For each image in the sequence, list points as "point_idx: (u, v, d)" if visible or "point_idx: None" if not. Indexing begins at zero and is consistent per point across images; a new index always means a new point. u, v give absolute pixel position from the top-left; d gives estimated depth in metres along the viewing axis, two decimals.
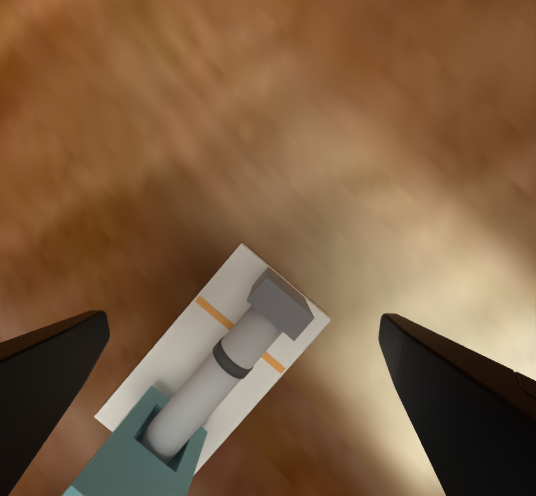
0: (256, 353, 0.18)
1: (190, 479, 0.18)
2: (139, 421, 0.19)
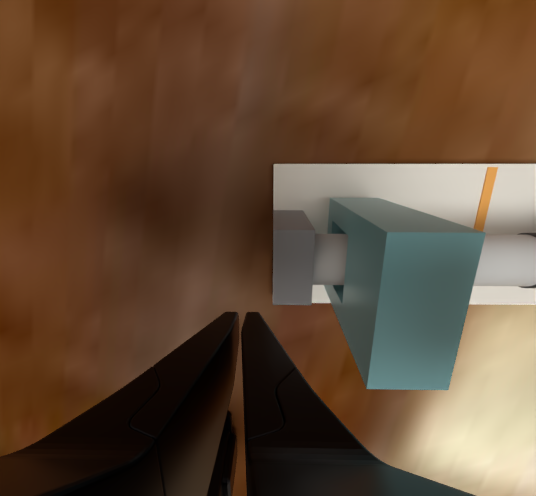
0: None
1: None
2: None
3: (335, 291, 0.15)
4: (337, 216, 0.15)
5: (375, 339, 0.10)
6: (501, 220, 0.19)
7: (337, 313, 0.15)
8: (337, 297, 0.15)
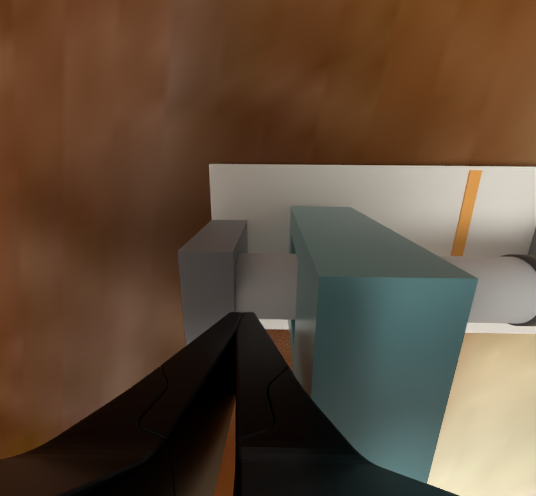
0: None
1: None
2: None
3: (291, 326, 0.12)
4: (293, 231, 0.12)
5: None
6: (486, 234, 0.15)
7: (292, 355, 0.12)
8: (292, 335, 0.12)
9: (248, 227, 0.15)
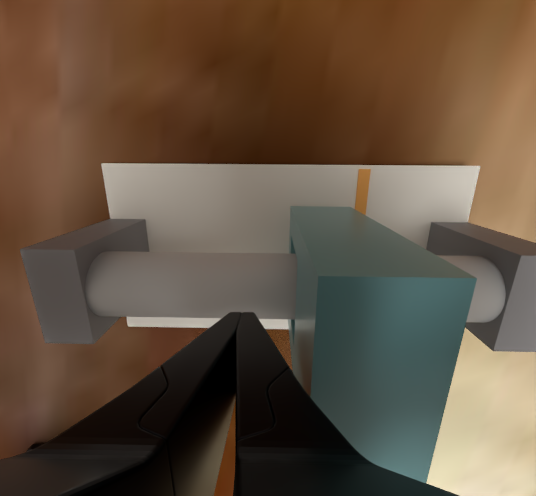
0: None
1: None
2: None
3: (291, 325, 0.12)
4: (293, 231, 0.12)
5: None
6: None
7: (291, 355, 0.12)
8: (292, 335, 0.12)
9: (147, 226, 0.16)
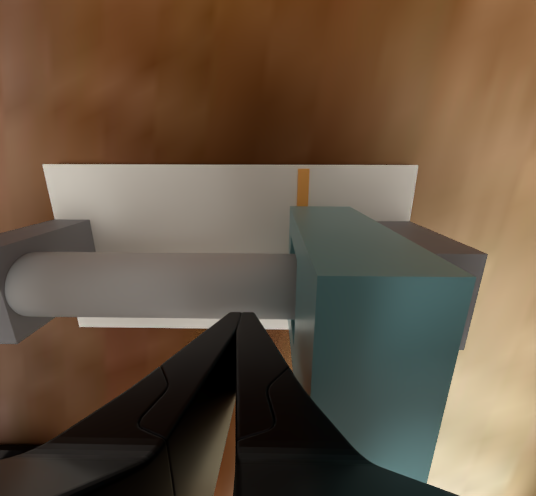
0: None
1: None
2: None
3: (291, 326, 0.12)
4: (292, 231, 0.12)
5: None
6: None
7: (292, 355, 0.12)
8: (292, 335, 0.12)
9: (91, 226, 0.16)
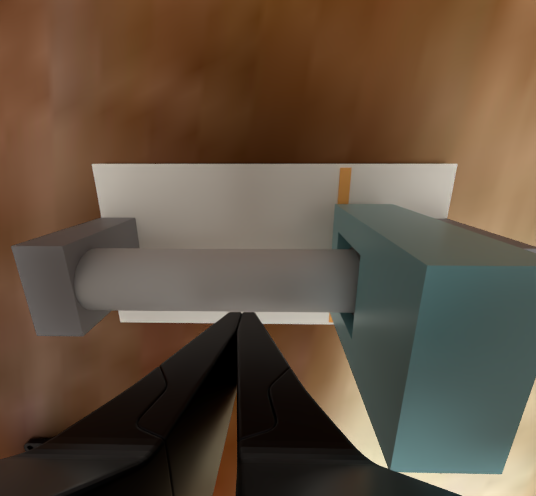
0: None
1: None
2: None
3: (342, 319, 0.13)
4: (345, 228, 0.12)
5: (403, 410, 0.07)
6: None
7: (345, 347, 0.12)
8: (345, 327, 0.12)
9: (137, 224, 0.16)
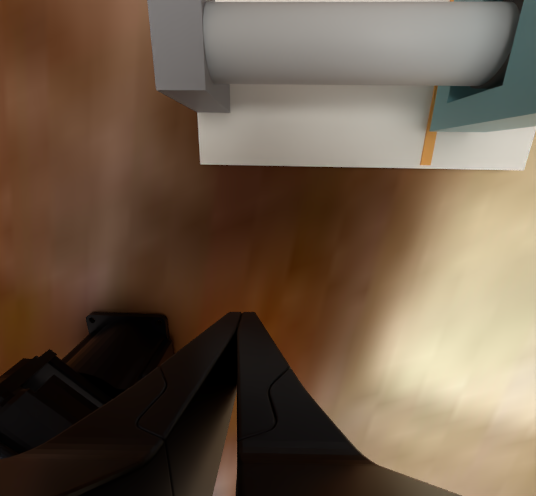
0: None
1: None
2: None
3: (473, 95, 0.12)
4: None
5: None
6: None
7: (481, 116, 0.11)
8: (482, 95, 0.11)
9: None
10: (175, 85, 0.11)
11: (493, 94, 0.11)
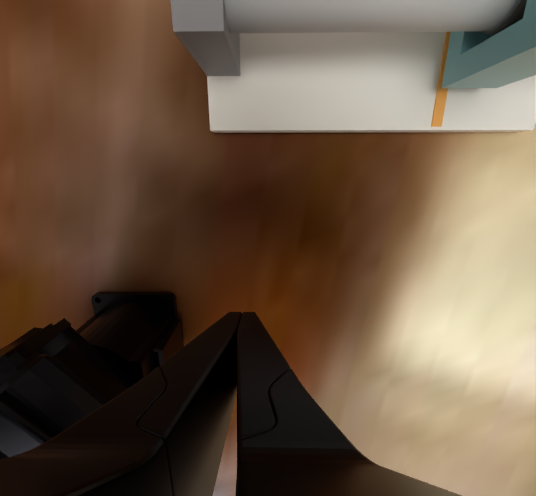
0: None
1: None
2: None
3: (490, 38, 0.12)
4: None
5: None
6: None
7: (500, 55, 0.11)
8: (500, 34, 0.11)
9: None
10: (193, 26, 0.11)
11: (512, 30, 0.11)
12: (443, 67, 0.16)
